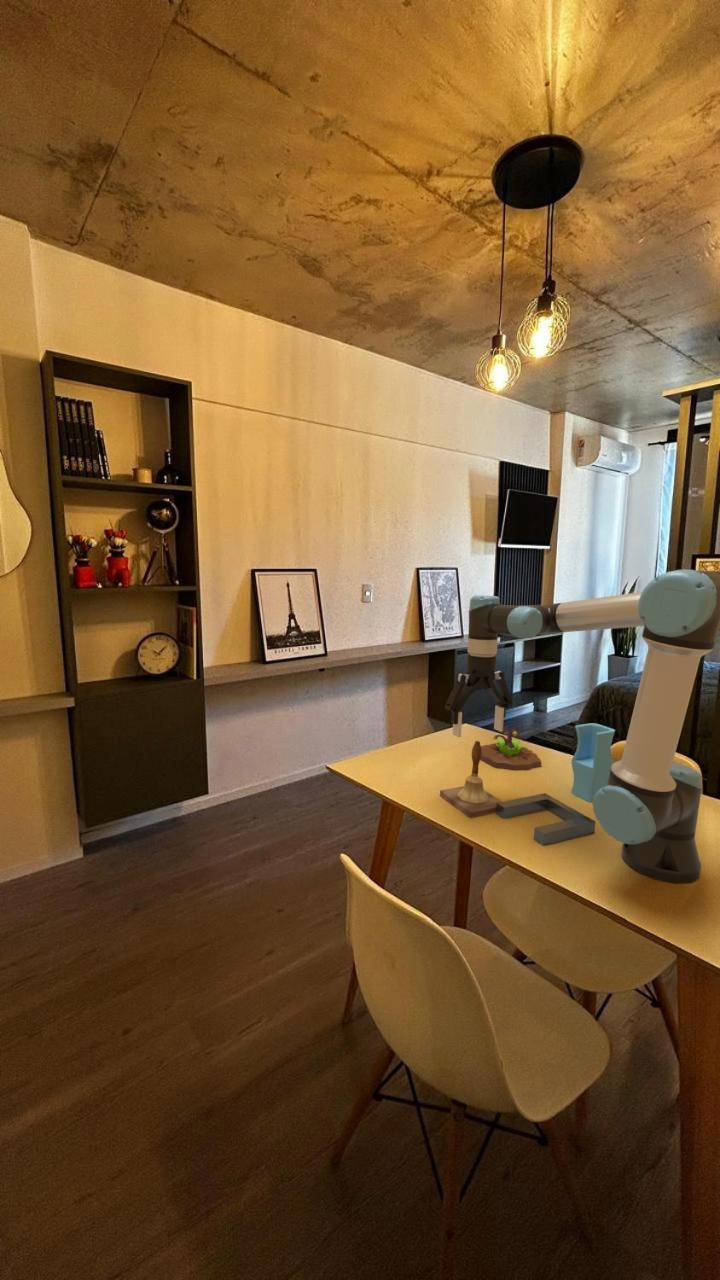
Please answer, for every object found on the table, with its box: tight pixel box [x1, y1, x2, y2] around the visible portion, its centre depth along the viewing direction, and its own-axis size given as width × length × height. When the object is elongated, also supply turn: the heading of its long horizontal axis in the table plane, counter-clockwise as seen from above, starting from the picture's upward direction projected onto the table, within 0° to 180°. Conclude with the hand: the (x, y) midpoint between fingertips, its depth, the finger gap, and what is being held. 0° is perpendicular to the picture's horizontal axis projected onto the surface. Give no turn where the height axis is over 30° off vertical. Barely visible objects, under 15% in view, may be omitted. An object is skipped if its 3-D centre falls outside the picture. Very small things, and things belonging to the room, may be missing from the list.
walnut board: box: [439, 785, 503, 819], centre depth 143 cm, size 14×12×2 cm
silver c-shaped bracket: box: [495, 792, 596, 846], centre depth 133 cm, size 17×16×3 cm
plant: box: [480, 729, 542, 771], centre depth 176 cm, size 20×20×11 cm
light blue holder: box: [570, 722, 616, 803], centre depth 149 cm, size 8×8×20 cm
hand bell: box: [458, 740, 489, 804], centre depth 142 cm, size 8×8×16 cm
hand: (478, 732), depth 140 cm, fingers open, 13 cm apart
